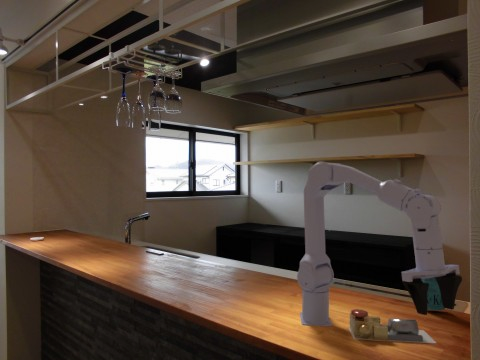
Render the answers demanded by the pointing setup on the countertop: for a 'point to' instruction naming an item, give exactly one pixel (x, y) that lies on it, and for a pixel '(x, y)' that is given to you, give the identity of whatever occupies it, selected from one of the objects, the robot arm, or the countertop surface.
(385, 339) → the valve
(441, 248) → the robot arm
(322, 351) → the countertop surface
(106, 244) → the countertop surface
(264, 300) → the countertop surface
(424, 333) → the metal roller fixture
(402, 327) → the metal cylinder
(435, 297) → the beverage bottle
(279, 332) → the countertop surface
